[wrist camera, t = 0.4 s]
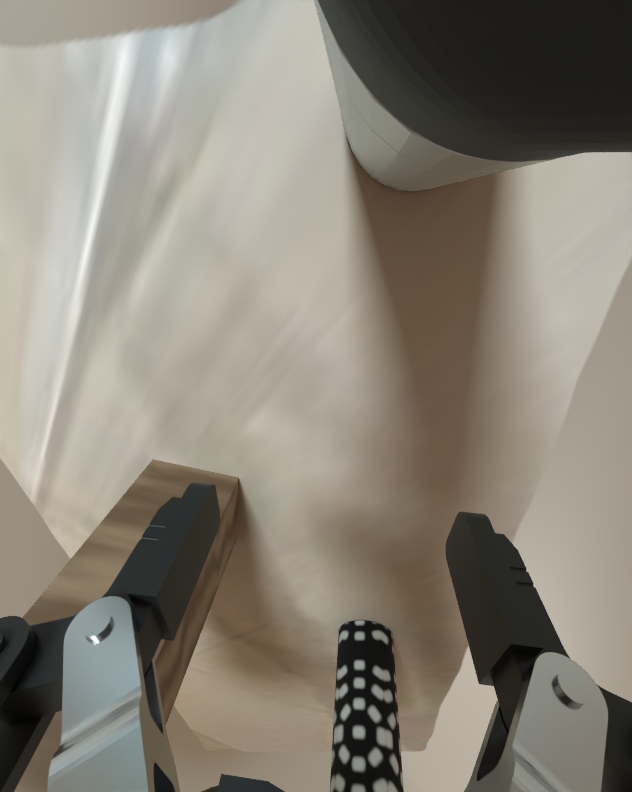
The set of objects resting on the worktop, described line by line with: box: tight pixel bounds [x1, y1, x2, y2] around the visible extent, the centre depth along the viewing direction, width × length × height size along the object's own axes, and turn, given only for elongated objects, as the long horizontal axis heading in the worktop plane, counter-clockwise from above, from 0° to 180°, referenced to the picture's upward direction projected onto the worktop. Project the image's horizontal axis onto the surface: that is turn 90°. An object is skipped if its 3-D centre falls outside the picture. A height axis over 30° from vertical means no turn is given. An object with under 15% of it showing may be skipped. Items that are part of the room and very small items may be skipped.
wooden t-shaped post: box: [14, 460, 239, 792], centre depth 26 cm, size 20×13×32 cm, turn 170°
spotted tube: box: [330, 621, 403, 792], centre depth 42 cm, size 8×8×20 cm
